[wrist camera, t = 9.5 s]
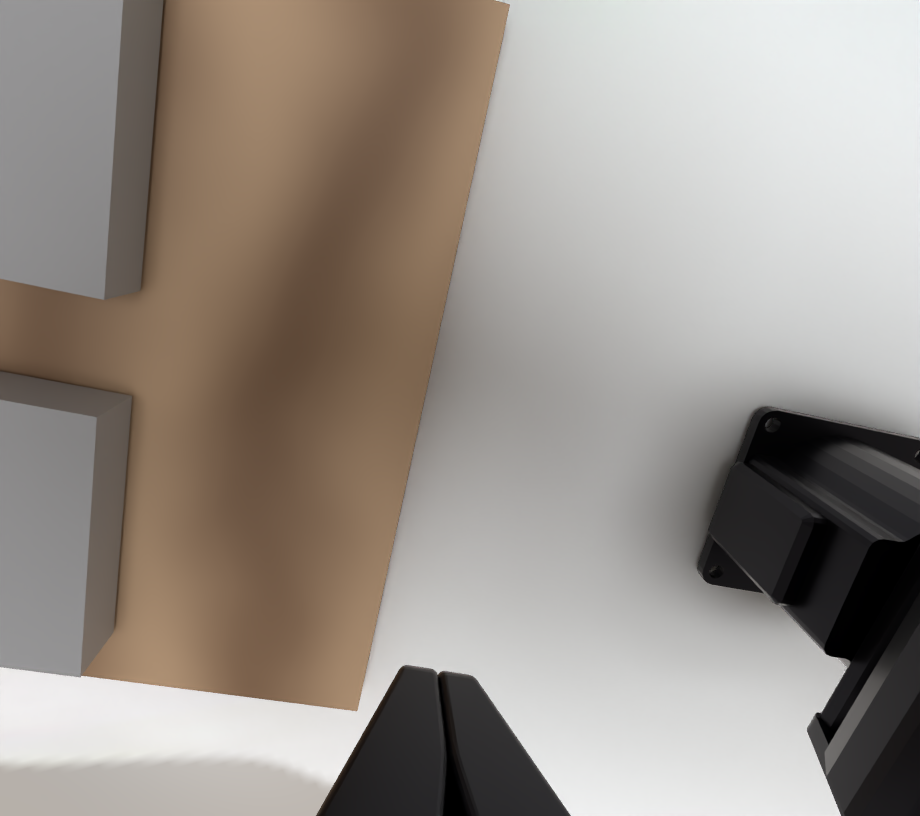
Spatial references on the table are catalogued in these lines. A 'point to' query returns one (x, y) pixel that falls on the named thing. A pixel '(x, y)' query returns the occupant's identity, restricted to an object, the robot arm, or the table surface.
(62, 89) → the tile
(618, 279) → the table surface
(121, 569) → the board
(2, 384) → the tile
